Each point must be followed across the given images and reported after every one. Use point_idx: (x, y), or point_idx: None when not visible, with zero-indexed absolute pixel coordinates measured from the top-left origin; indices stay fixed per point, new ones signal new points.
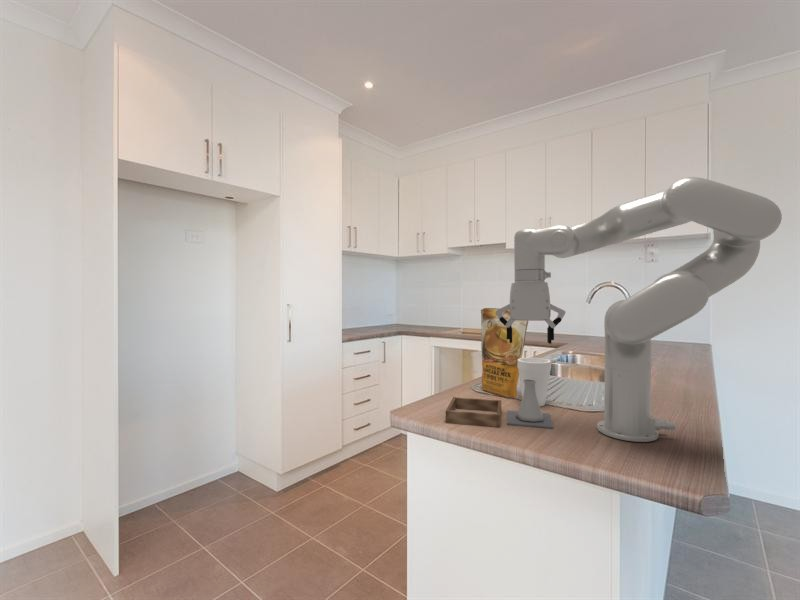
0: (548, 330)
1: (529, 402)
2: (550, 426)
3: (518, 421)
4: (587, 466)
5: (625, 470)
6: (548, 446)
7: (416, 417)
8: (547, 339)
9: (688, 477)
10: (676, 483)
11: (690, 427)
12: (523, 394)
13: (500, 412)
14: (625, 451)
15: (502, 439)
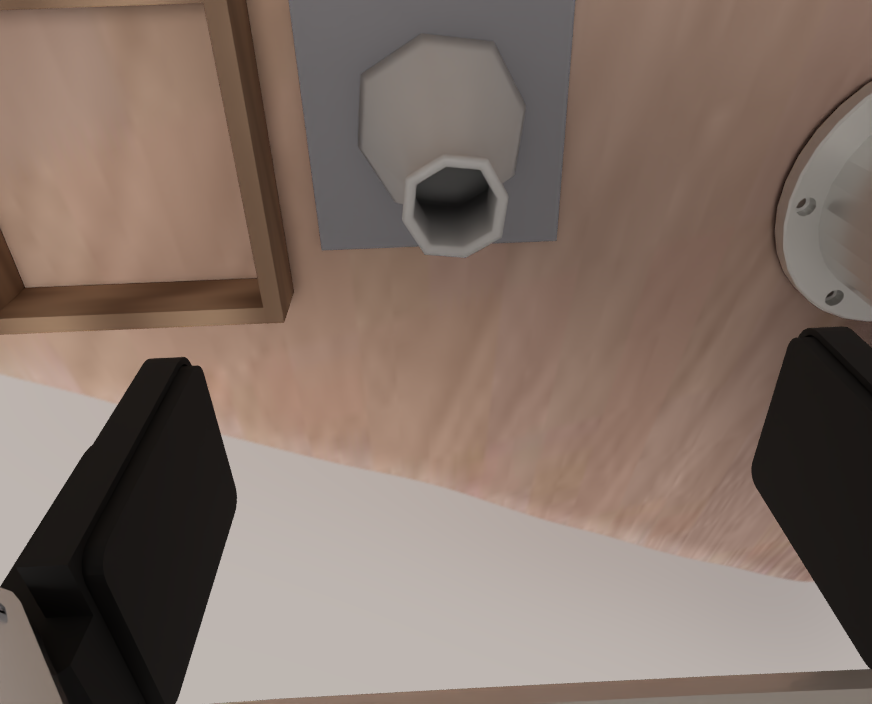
0: (858, 650)
1: (443, 208)
2: (543, 236)
3: (378, 204)
4: (599, 526)
5: (700, 521)
6: (504, 431)
7: None
8: (809, 373)
9: None
10: None
11: None
12: (403, 182)
13: (267, 193)
14: None
15: (330, 417)
